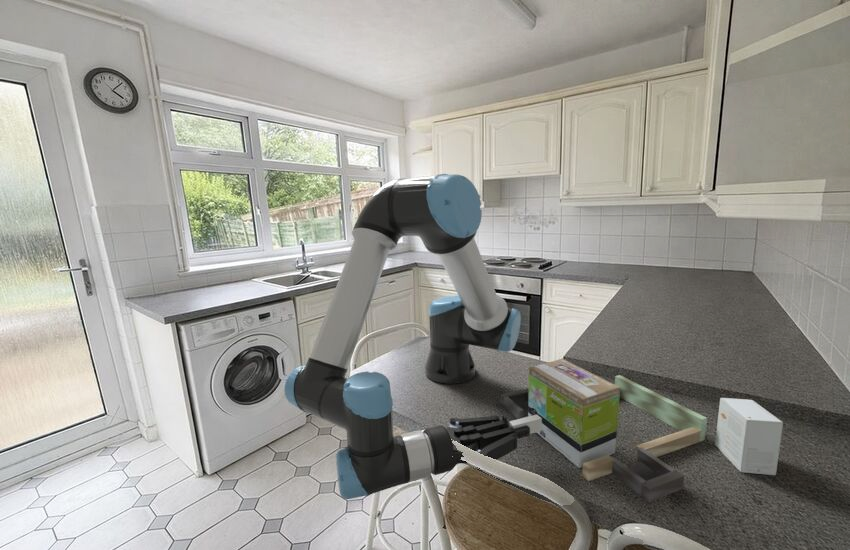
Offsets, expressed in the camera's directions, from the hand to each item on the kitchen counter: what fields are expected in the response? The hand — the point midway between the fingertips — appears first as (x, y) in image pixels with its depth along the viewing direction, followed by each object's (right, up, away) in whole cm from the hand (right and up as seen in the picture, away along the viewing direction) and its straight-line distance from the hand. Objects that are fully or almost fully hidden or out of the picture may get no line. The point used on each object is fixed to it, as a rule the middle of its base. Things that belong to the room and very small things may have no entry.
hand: (538, 422), depth 70 cm
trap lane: (+17, -5, +8) cm, 19 cm away
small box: (+38, -6, -3) cm, 39 cm away
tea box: (+8, -6, +4) cm, 11 cm away
